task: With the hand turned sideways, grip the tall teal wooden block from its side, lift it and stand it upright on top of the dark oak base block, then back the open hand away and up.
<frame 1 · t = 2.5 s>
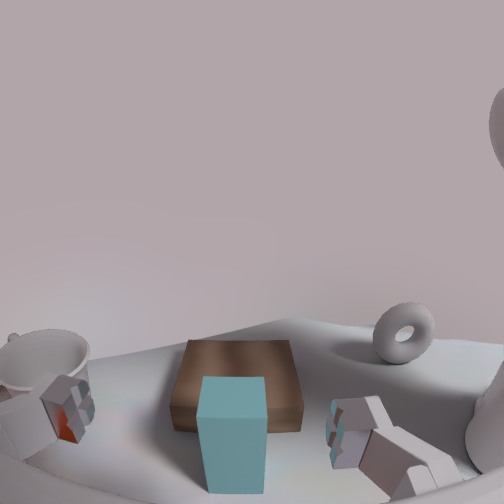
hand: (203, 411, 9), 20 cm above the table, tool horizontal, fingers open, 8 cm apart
teal block: (236, 474, 26), on the table
teacup: (58, 418, 30), on the table
oak base: (238, 394, 38), on the table
donut: (397, 363, 44), on the table
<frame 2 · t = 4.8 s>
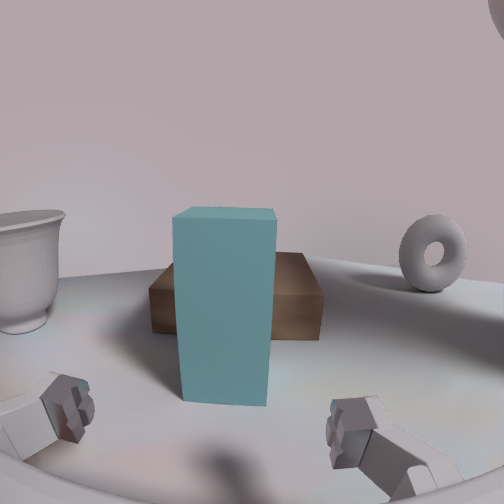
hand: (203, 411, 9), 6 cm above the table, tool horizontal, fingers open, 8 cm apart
teal block: (227, 380, 20), on the table
teacup: (17, 319, 26), on the table
oak base: (239, 305, 33), on the table
donut: (427, 292, 37), on the table
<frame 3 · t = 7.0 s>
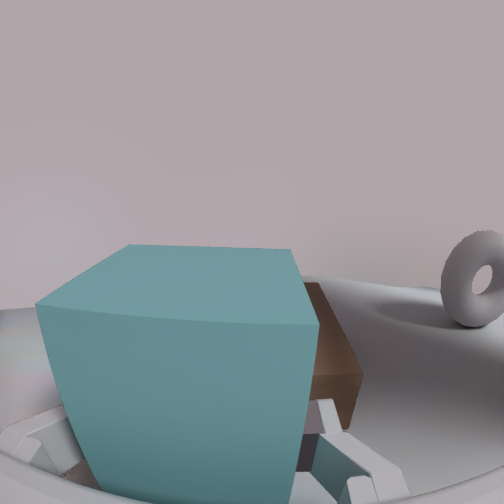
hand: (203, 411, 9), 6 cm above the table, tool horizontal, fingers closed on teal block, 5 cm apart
oak base: (232, 363, 23), on the table
donut: (470, 327, 27), on the table
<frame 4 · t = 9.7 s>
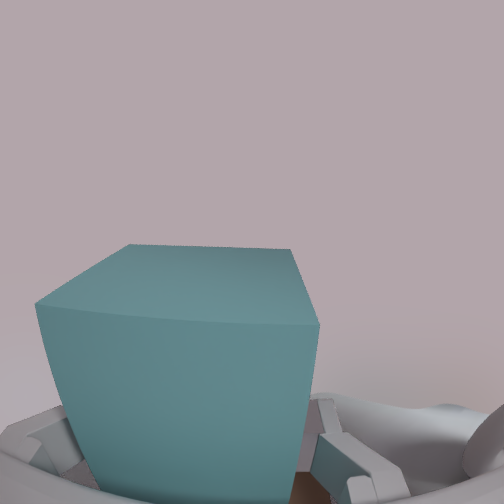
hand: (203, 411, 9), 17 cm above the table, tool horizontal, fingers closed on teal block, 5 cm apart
donut: (486, 476, 18), on the table
when the fingers open (11 cm above the table, at t = 12.0 s): teal block drops 1 cm, resting on oak base.
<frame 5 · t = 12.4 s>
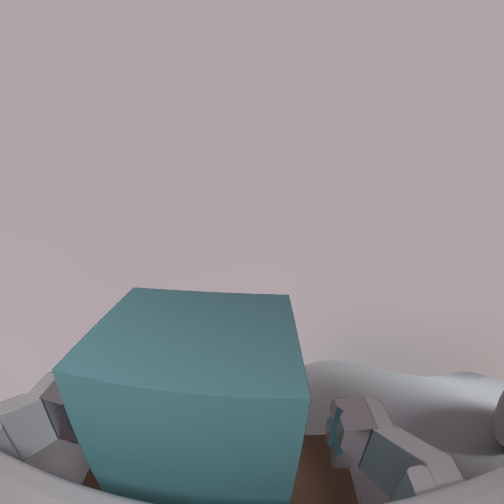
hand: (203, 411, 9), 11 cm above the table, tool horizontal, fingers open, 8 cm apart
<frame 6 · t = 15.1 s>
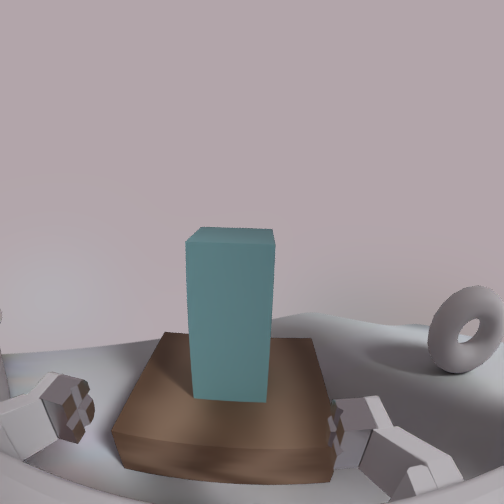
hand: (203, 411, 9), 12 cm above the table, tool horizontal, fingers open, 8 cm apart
teal block: (232, 380, 23), point 4 cm above the table, touching oak base
oak base: (231, 417, 24), on the table
donut: (455, 372, 29), on the table
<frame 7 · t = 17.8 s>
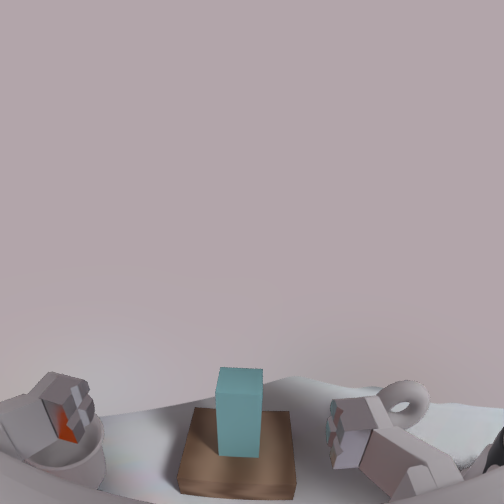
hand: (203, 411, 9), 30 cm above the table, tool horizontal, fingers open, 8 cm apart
teal block: (239, 443, 37), point 4 cm above the table, touching oak base
teacup: (75, 475, 31), on the table
oak base: (239, 460, 38), on the table
donut: (391, 430, 42), on the table
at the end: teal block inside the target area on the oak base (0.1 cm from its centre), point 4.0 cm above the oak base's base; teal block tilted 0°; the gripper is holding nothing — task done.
